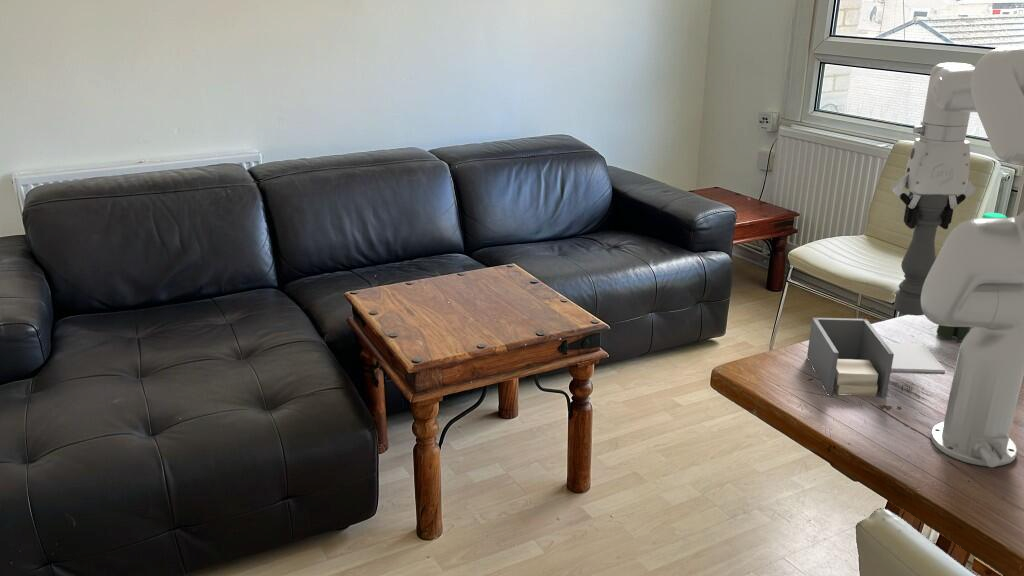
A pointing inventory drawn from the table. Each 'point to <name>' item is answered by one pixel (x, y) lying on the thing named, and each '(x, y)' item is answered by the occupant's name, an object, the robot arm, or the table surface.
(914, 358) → the mat
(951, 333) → the character mug
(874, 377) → the upper offcut
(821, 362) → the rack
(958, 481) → the table surface
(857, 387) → the block
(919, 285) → the candle holder
